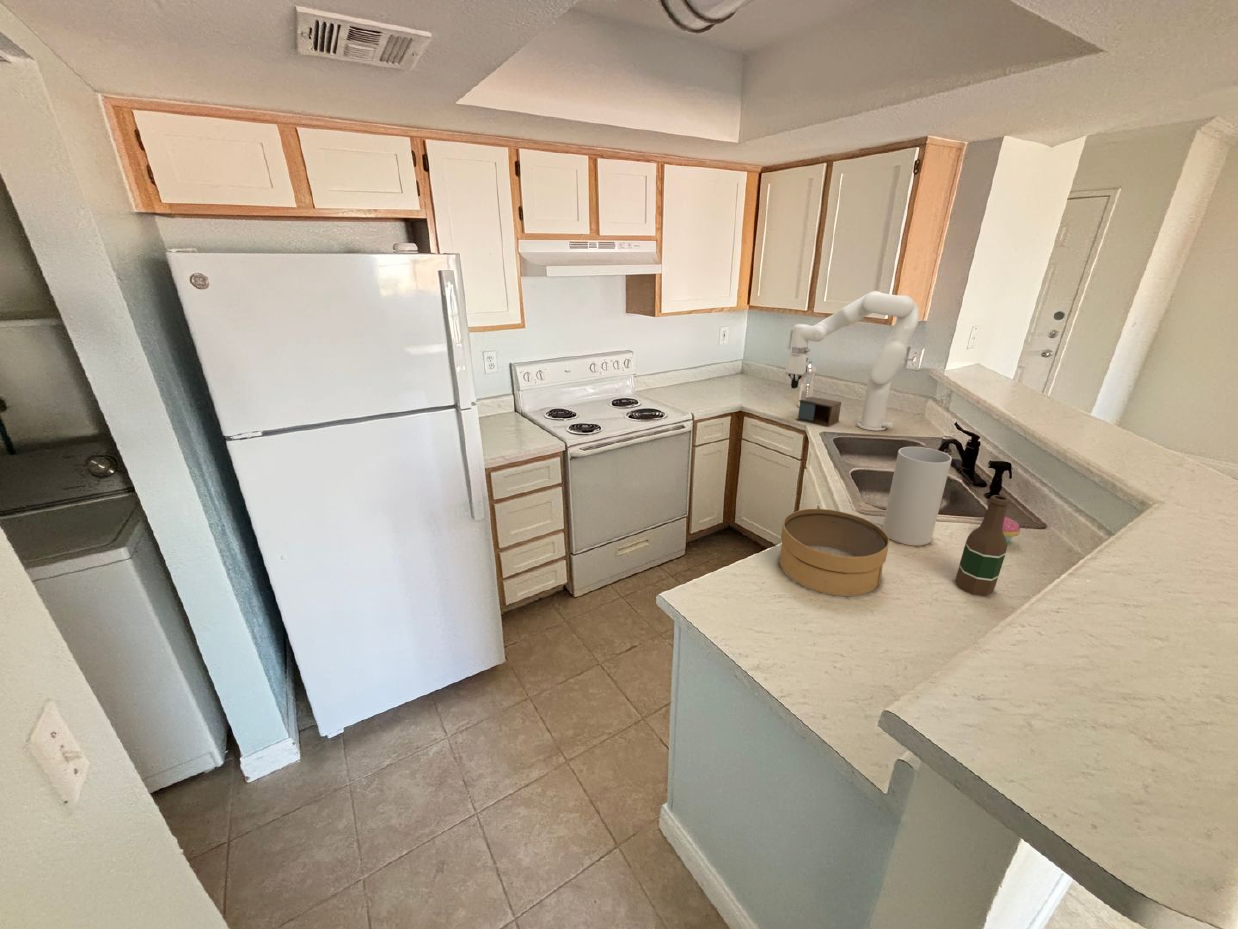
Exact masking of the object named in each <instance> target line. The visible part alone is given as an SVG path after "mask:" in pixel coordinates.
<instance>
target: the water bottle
mask: <svg viewBox="0 0 1238 929" xmlns="http://www.w3.org/2000/svg"><path fill="white" fill-rule="evenodd" d="M816 372H817V369H816V367H815V365H814V364H813V361H812V360H809V369H808V373H807V377H805V378H801V379H800V386H799V393H798V402H797V406H798V408H799V407H800V402H799V400H801V394H802V391H806V392H807V395H806V398H808V397H813V396H814V395H813V394H814V388H815V378H816Z"/></svg>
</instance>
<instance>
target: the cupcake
mask: <svg viewBox="0 0 1238 929" xmlns="http://www.w3.org/2000/svg"><path fill="white" fill-rule="evenodd" d="M1020 533H1021V527H1020V525H1019V524H1018V522H1016V521H1015V520H1014V519H1012V518H1010V517H1008V516H1005V518H1004V523H1003V534H1004V536H1005V538H1006V541H1007V543H1009V542H1010V540H1011V539H1012V538H1013V537H1018V536H1019V535H1020Z"/></svg>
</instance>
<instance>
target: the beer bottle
mask: <svg viewBox="0 0 1238 929" xmlns="http://www.w3.org/2000/svg"><path fill="white" fill-rule="evenodd" d="M988 500H989V503H988V506H987V509H986V511H985V514H984V517H983V519H982V521H981V524H980V525H979V526H978V527H976V528H975V529H973V530H972V531H971V532H970V533H969V534H968V536H967V538H966V541H965V544H964V546H963V551H962V555H961V558H960V562H959V565H958V568H957V572H956V577H955V582H956V584H957V586H958V588H959V589H960V590H963V591H965V592H966V593H969V594H971V595H976V596H983V597H987V596H989V595H990V594H992V593H993V592H994V590H995V588H996V586H997V583H998V579H999V576H1000V574H1001V569H1002V567H1003V563H1004V560H1005V557H1006V555H1007V549H1008V542H1007V541H1006V538H1005V536H1004V534H1003V523H1004V518H1005V517H1006V515H1007V514H1006V513H1007V509H1008V505H1010V504H1011V503H1010V502H1011V501H1010V499H1009V498H1008V497H1007V496H1004V495H1000V494H999V495H998V494H993V495H991V496H990V497H989V499H988Z"/></svg>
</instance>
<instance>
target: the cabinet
mask: <svg viewBox="0 0 1238 929" xmlns="http://www.w3.org/2000/svg"><path fill="white" fill-rule="evenodd" d="M798 401H799V402H804V403H809V404H815V405H816V406H815V413H814V420H813V421H811V420H806V419H801V418H798V417H797V418H796V421H799V422H804V423H809V424H813V425H817V426H822V427H827V428H828V427H830V426H832V425H835V424H837V423H838V422H839V421H840V416H841V415H840V414H841V408H842V401H838V400H833V399H826V398H821V397H815V396H812V397H808V398H806V401H801V400H799V399H798ZM807 401H812V402H816V403H812V402H807Z"/></svg>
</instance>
